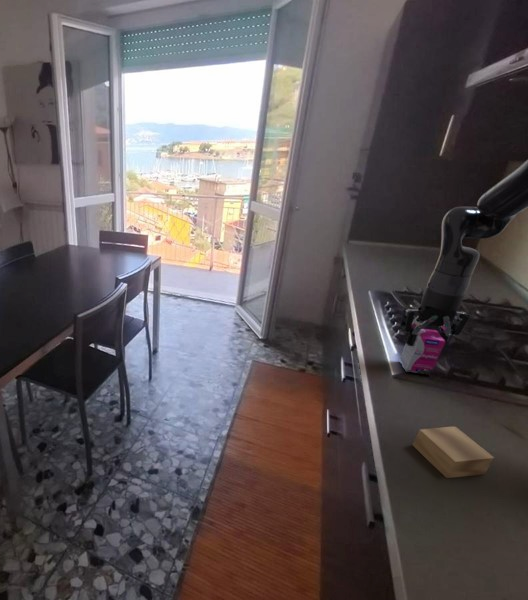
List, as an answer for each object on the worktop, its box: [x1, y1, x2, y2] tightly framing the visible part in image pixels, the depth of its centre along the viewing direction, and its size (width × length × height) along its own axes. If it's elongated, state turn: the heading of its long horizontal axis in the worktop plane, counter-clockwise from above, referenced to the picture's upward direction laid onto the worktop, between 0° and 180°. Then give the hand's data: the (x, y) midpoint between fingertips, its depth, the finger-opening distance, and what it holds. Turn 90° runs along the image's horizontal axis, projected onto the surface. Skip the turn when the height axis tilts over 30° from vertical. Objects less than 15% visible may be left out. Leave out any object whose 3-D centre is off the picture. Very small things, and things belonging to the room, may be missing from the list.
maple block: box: [412, 425, 495, 479], centre depth 70 cm, size 8×8×4 cm
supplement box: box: [399, 328, 446, 371], centre depth 96 cm, size 6×6×12 cm
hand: (423, 345), depth 95 cm, fingers open, 6 cm apart
